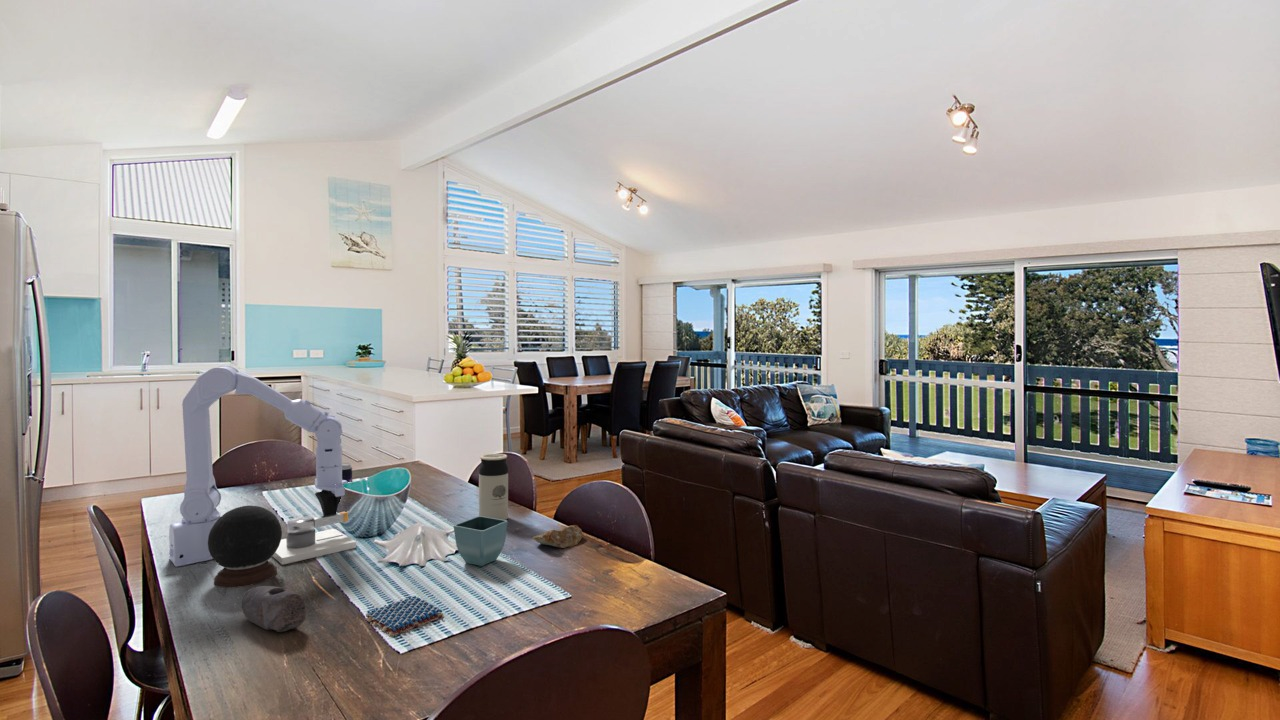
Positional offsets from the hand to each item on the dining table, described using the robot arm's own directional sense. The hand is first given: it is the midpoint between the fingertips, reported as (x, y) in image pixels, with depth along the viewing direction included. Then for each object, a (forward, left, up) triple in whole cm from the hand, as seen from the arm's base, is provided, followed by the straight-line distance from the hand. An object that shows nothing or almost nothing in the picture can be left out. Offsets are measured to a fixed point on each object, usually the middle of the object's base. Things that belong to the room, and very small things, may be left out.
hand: (329, 519), depth 152 cm
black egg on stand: (-21, -11, -6) cm, 24 cm away
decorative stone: (+40, -40, -6) cm, 57 cm away
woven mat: (-6, -53, -6) cm, 54 cm away
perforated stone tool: (-24, -39, -6) cm, 46 cm away
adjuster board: (-5, -2, -6) cm, 8 cm away
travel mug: (+39, -12, -6) cm, 41 cm away
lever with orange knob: (-3, -2, -1) cm, 3 cm away
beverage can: (+15, +34, -6) cm, 38 cm away
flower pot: (+19, -38, -6) cm, 43 cm away
